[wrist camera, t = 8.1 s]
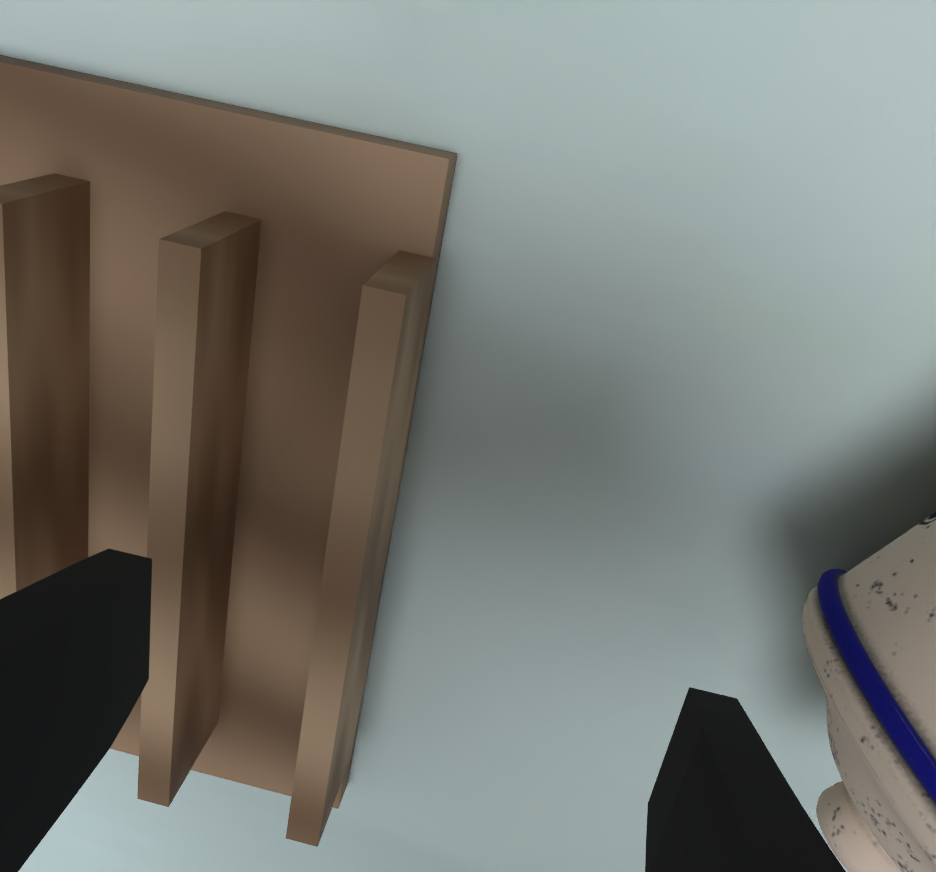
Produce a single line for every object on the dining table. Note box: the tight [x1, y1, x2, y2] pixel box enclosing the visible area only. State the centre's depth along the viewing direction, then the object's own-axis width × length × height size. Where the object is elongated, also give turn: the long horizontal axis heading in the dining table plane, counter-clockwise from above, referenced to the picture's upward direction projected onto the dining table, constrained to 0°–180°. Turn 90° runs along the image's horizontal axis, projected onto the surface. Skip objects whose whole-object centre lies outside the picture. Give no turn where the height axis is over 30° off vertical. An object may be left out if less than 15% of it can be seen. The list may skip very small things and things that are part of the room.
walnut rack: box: [0, 55, 457, 847], centre depth 21 cm, size 18×12×4 cm
